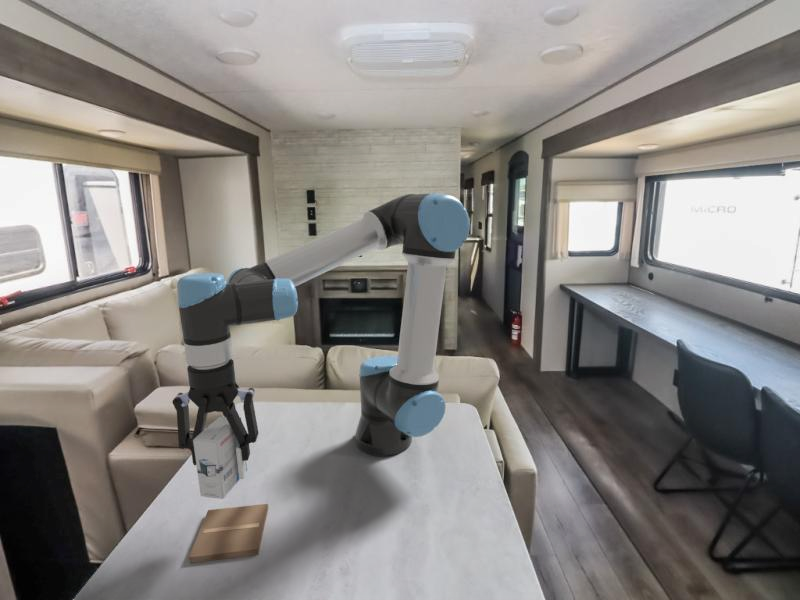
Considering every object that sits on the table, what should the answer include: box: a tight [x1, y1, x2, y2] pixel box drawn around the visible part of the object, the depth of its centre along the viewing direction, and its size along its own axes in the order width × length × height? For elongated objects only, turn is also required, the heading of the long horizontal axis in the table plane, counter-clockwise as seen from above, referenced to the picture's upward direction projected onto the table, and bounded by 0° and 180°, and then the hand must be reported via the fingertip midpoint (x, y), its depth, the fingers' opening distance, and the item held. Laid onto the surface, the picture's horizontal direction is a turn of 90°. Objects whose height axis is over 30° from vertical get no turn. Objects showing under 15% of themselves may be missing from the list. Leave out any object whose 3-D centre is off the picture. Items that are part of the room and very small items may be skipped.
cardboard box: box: [188, 503, 269, 564], centre depth 83 cm, size 12×12×1 cm
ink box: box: [193, 415, 248, 500], centre depth 79 cm, size 9×5×12 cm, turn 170°
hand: (224, 476), depth 80 cm, fingers closed on ink box, 6 cm apart
